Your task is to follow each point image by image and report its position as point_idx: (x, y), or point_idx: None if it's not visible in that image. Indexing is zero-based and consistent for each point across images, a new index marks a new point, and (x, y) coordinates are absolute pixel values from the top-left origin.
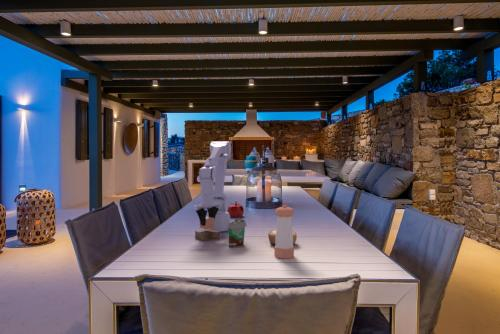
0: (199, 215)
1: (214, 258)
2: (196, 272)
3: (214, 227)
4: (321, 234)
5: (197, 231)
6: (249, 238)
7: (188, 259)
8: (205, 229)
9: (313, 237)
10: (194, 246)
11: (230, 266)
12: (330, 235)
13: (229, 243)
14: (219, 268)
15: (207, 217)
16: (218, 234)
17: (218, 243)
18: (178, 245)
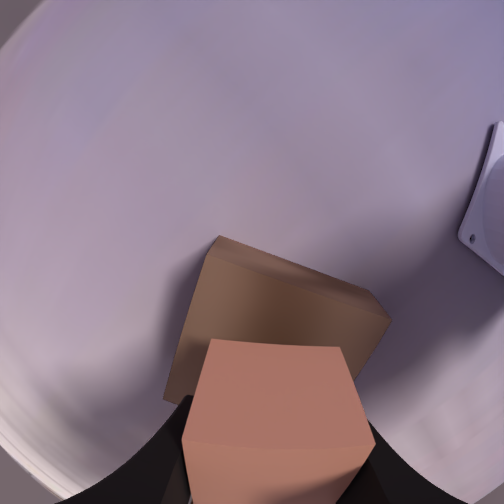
0: (120, 494)
1: (78, 473)
2: (20, 457)
3: (500, 229)
4: (480, 485)
5: (193, 303)
6: None
7: (18, 424)
8: (333, 301)
9: None
10: (75, 381)
11: None
12: (471, 494)
13: (191, 496)
14: (62, 485)
15: (299, 483)
16: None
17: None
18: (24, 299)
